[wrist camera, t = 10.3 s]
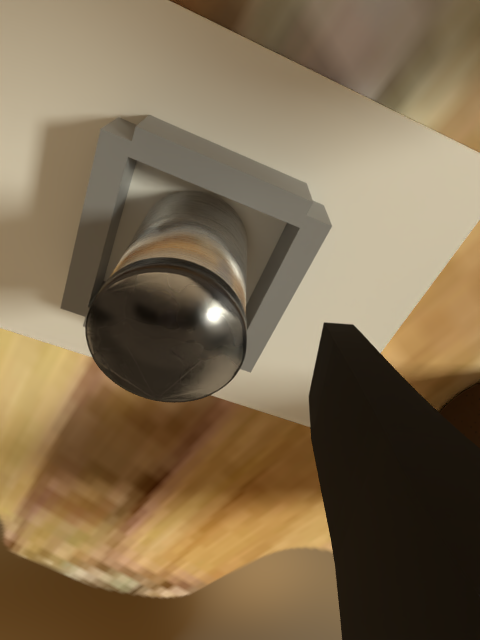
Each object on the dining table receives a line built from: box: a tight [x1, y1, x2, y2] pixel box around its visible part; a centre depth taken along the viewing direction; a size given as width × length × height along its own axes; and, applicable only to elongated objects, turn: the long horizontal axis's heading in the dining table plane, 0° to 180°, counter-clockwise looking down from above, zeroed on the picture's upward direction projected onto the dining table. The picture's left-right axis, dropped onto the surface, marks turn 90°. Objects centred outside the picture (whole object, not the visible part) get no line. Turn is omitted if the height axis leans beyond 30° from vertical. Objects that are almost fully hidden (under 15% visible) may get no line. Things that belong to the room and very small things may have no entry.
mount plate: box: [0, 0, 480, 427], centre depth 18 cm, size 20×15×3 cm
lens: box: [85, 190, 248, 402], centre depth 15 cm, size 4×4×7 cm
